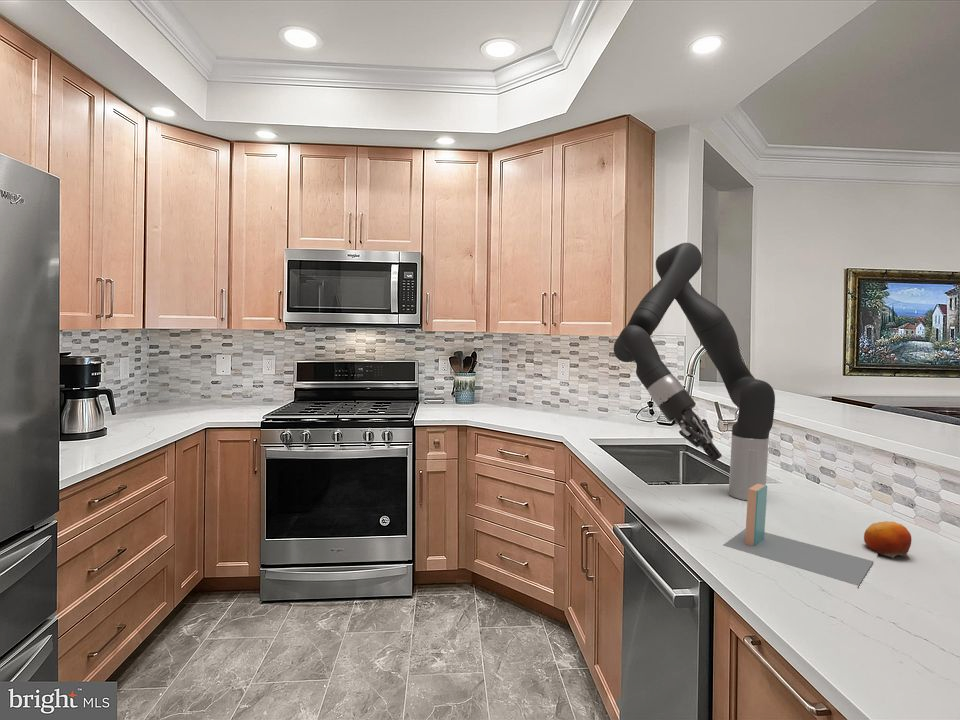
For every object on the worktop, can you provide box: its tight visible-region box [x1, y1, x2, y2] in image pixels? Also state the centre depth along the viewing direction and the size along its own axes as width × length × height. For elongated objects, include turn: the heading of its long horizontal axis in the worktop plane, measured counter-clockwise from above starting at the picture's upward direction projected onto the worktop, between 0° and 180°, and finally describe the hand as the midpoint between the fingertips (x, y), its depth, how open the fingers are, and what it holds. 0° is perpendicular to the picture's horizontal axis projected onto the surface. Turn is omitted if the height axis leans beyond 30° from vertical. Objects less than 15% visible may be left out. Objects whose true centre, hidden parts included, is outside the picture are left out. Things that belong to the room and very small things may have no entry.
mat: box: [722, 528, 874, 589], centre depth 110 cm, size 15×24×1 cm, turn 45°
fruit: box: [863, 521, 912, 560], centre depth 112 cm, size 8×8×8 cm
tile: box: [745, 484, 768, 546], centre depth 116 cm, size 6×2×12 cm, turn 135°
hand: (717, 459), depth 122 cm, fingers closed
